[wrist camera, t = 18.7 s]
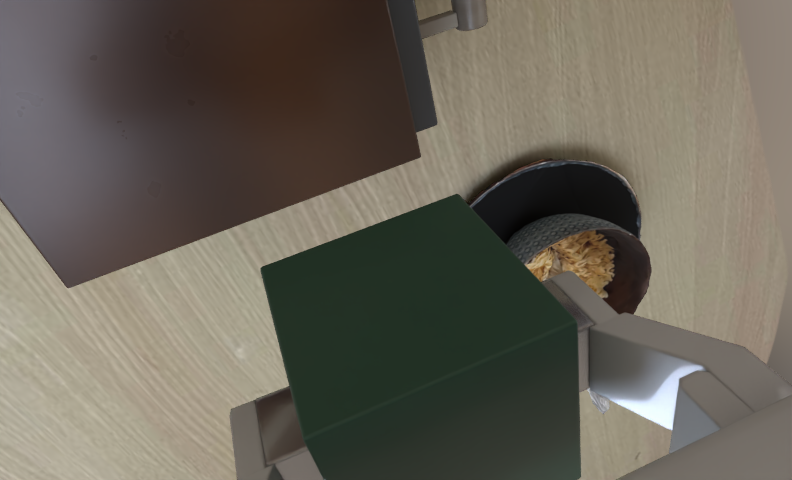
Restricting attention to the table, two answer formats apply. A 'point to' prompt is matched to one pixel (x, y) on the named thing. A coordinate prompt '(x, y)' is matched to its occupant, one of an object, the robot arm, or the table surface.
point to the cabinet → (187, 118)
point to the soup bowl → (572, 229)
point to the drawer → (409, 42)
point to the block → (427, 354)
